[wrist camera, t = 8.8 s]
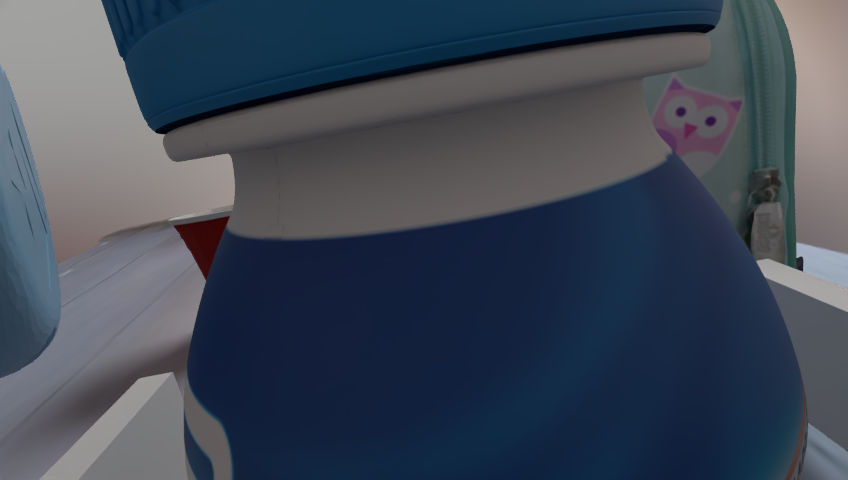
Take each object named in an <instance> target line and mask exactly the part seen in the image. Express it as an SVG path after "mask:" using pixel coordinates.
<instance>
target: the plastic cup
mask: <svg viewBox="0 0 848 480" xmlns="http://www.w3.org/2000/svg"><path fill="white" fill-rule="evenodd" d="M233 206H234V205H231V206H226V207H221V208H216V209H211V210H207V211H202V212H197V213H193V214H188V215H184V216H180V217H176V218H173V219H169V220H168V222H169V224H170V225H174V228H176V230H177V231H178V232H179V234H180V236H181V238H182V239H183V240H184V242H185V244H186V246H187V248H188V249H189V250H190V251H191V253H192V255H193V257H194V259H195V261H196V262H197V264H198V266H199V268H200V270H201V272H202V274H203V276H204V277H205V279H206V281H207V278H208V274H209V271H210V268H211V265H212V262H213V259H214V256H215V254H216V251H217V248H218V245H219V243H220V240H221V237H222V235H223V232H224V230H225V227H226V225H227V223H228V220H229V218H230V216H231V213H232V211H233Z"/></svg>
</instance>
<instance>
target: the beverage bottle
mask: <svg viewBox="0 0 848 480" xmlns="http://www.w3.org/2000/svg"><path fill="white" fill-rule="evenodd" d="M101 1H102V3H103V6H104V9H105V12H106V15H107V18H108V21H109V24H110V27H111V30H112V33H113V36H114V39H115V42H116V45H117V48H118V52H119V54H120V56H121V57H123V60H124V62H125V65H126V70H127V73H128V76H129V78H130V82H131V85H132V88H133V91H134V93H135V96H136V99H137V102H138V104H139V107H140V110H141V112H142V115H143V117H144V119H145V120H146V122H147V123H148V126H149V127H150V128H151V129H152V130H153V131H155V132H156V133H158V134H166V135H165V136H164V138H163V145H164V148H165V151H166V153H167V155H168V156H169V158H170V159H171V160H173V161H176V162H180V161H187V160H193V159H198V158H204V157H210V156H215V155H221V154H227V153H228V154H230V156H231V158H232V162H233V168H234V176H235V200H234V206H233V211H232V213H231V216H230V218H229V220H228V223H227V225H226V227H225V230H224V232H223V235H222V237H221V240H220V243H219V245H218V248H217V251H216V254H215V256H214V259H213V262H212V265H211V268H210V271H209V274H208V278H207V281H206V284H205V287H204V291H203V294H202V298H201V302H200V305H199V309H198V313H197V317H196V322H195V326H194V330H193V335H192V340H191V345H190V350H189V356H188V362H187V370H186V379H185V391H184V450H185V462H186V471H187V477H188V480H799V477H800V473H801V470H802V466H803V462H804V457H805V452H806V445H807V434H808V414H807V403H806V395H805V390H804V384H803V379H802V375H801V371H800V367H799V364H798V360H797V357H796V353H795V350H794V347H793V344H792V341H791V338H790V335H789V332H788V329H787V327H786V324H785V321H784V319H783V316H782V314H781V311H780V309H779V306H778V304H777V301H776V299H775V297H774V295H773V292H772V290H771V288H770V286H769V284H768V282H767V280H766V278H765V277H764V275H763V273H762V271H761V269H760V267H759V266H758V264H757V262H756V260H755V259H754V257H753V255H752V254H751V252H750V250H749V249H748V247H747V246H746V244H745V243H744V241H743V240H742V238H741V236H740V235H739V233H738V232H737V230H736V229H735V228H734V226H733V225H732V223H731V222H730V220H729V219H728V217H727V216H726V215H725V213H724V212H723V210H722V209H721V208H720V206H719V205H718V204H717V202H716V201H715V200H714V198H713V197H712V196H711V194H710V193H709V192H708V191H707V189H706V188H705V187H704V185H703V184H702V183H701V182H700V181H699V179H698V178H697V177H696V176H695V174H694V173H693V172H692V171H691V170H690V169H689V167H688V166H687V165H686V164H685V163H684V162H683V160H682V159H681V158H680V157H679V156H678V155H677V154H676V153H675V152H674V151H673V150H672V149H671V147H670V146H669V145H668V144H667V143H666V142H665V141H664V140H663V139H662V138H661V137H660V136H659V134H658V133H657V131H656V129H655V127H654V125H653V123H652V121H651V118H650V115H649V112H648V109H647V105H646V101H645V97H644V92H643V85H642V82H643V79H644V78H645V77H649V76H654V75H660V74H665V73H670V72H675V71H681V70H686V69H691V68H696V67H700V66H703V65H705V64H706V63H707V62H708V60H709V58H710V53H711V41H710V38H709V37H708V36H707V35H706V34H705V33H708V32H710V31H712V30H713V29H714V28H715V27H716V25H717V24H718V22H719V20H720V18H721V12H722V8H723V0H101Z"/></svg>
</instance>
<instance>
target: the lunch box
mask: <svg viewBox="0 0 848 480" xmlns="http://www.w3.org/2000/svg"><path fill="white" fill-rule="evenodd" d="M705 34H706V35H707V36H708V37H709V38H710V41H711V53H710V58H709V60H708V62H707V63H706V64H705V65H703V66H700V67H696V68H691V69H686V70H681V71H675V72H670V73H665V74H660V75H654V76H649V77H645V78H644V79H643V82H642V85H643V92H644V97H645V101H646V105H647V109H648V112H649V115H650V118H651V121H652V123H653V125H654V127H655V129H656V131H657V133H658V134H659V136H660V137H661V138H662V139H663V140H664V141H665V142H666V143H667V144H668V145H669V146H670V147H671V149H672V150H673V151H674V152H675V153H676V154H677V155H678V156H679V157H680V158H681V159H682V160H683V162H684V163H685V164H686V165H687V166H688V167H689V169H690V170H691V171H692V172H693V173H694V174H695V176H696V177H697V178H698V179H699V181H700V182H701V183H702V184H703V185H704V187H705V188H706V189H707V191H708V192H709V193H710V194H711V196H712V197H713V198H714V200H715V201H716V202H717V204H718V205H719V206H720V208H721V209H722V210H723V212H724V213H725V215H726V216H727V217H728V219H729V220H730V222H731V223H732V225H733V226H734V228H735V229H736V230H737V232H738V233H739V235H740V236H741V238H742V240H743V241H744V243H745V244H746V246H747V247H748V249H749V250H750V252H751V254H752V255H753V257H754V259H755V260H756V261H758V260H763V259H770V260H773V261H775V262H778V263H781V264H783V265H786V266H789V267H792V268H794V269H797V270H800V271H802V272H803V257H799V258H796V226H795V194H794V173H795V117H796V116H795V115H796V69H795V61H794V54H793V49H792V45H791V41H790V37H789V33H788V29H787V27H786V24H785V22H784V19H783V17H782V14H781V12H780V10H779V9H778V7H777V5H776V3H775V1H774V0H723V8H722V12H721V18H720V20H719V22H718V24H717V25H716V27H715V28H714V29H713V30H712V31H710V32H708V33H705Z"/></svg>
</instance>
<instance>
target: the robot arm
mask: <svg viewBox="0 0 848 480" xmlns="http://www.w3.org/2000/svg"><path fill="white" fill-rule="evenodd" d="M756 262H757V264H758V266H759V267H760V269H761V271H762V273H763V275H764V277H765V278H766V280H767V282H768V284H769V286H770V288H771V290H772V292H773V295H774V297H775V299H776V301H777V304H778V306H779V309H780V311H781V314H782V316H783V319H784V321H785V324H786V327H787V329H788V332H789V335H790V338H791V341H792V344H793V347H794V350H795V353H796V357H797V360H798V364H799V367H800V371H801V375H802V379H803V384H804V390H805V395H806V403H807V414H808V423H809V424H811V425H812V426H814V427H815V428H816V429H818V430H819V431H820V432H822V433H823V434H825V435H826V436H827V437H829V438H830V439H831V440H833V441H834V442H836V443H837V444H838V445H840V446H841V447H842V448H844V449H845V450H846V451H848V288H846V287H843V286H840V285H838V284H835V283H832V282H829V281H827V280H824V279H821V278H819V277H816V276H813V275H811V274H808V273H805V272H802V271H800V270H797V269H794V268H792V267H789V266H786V265H783V264H781V263H778V262H775V261H773V260H770V259H763V260H758V261H756ZM60 314H61V294H60V283H59V274H58V267H57V261H56V256H55V251H54V245H53V240H52V234H51V229H50V224H49V220H48V215H47V211H46V207H45V202H44V198H43V194H42V189H41V185H40V182H39V178H38V174H37V170H36V166H35V162H34V159H33V155H32V151H31V148H30V144H29V141H28V138H27V135H26V131H25V128H24V125H23V122H22V118H21V115H20V112H19V109H18V106H17V103H16V100H15V97H14V94H13V92H12V89H11V87H10V84H9V81H8V79H7V76H6V74H5V71H4V70H3V69H2V67H1V66H0V378H2V377H5V376H7V375H10V374H12V373H15V372H17V371H19V370H21V368H23V367H25V366H27V365H28V364H30V363H32V362H33V361H34V360H35V359H37V358H38V357H39V356H40V355H41V354H42V352H43V351H44V350H45V349H46V348H47V347H48V346H49V344H50V343H51V342H52V340H53V338H54V336H55V334H56V332H57V329H58V325H59V321H60ZM39 480H188V477H187V471H186V462H185V450H184V400H183V398H182V395H181V392H180V390H179V387H178V384H177V382H176V379H175V376H174V374H173V372H170V373H165V374H159V375H154V376H149V377H144V378H139V379H138V380H137V381H136V382H135V383H134V384H133V385H132V386H131V387H130V388H129V389H128V390H127V391H126V392H125V393H124V394H123V395H122V396H121V397H120V398H119V399H118V400H117V401H116V402H115V403H114V404H113V405H112V406H111V407H110V408H109V409H108V411H107V412H106V413H105V414H104V415H103V416H102V417H101V418H100V419H99V420H98V421H97V422H96V423H95V424H94V425H93V426H92V427H91V428H90V429H89V430H88V431H87V432H86V433H85V434H84V435H83V436H82V437H81V438H80V439H79V440H78V441H77V442H76V443H75V444H74V445H73V446H72V447H71V448H70V449H69V450H68V451H67V452H66V453H65V454H64V455H63V456H62V457H61V458H60V459H59V460H58V461H57V462H56V463H55V464H54V465H53V466H52V467H51V468H50V469H49V470H48V471H47V472H46V473H45V474H44V475H43V476H42V477H41V478H40V479H39Z"/></svg>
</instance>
